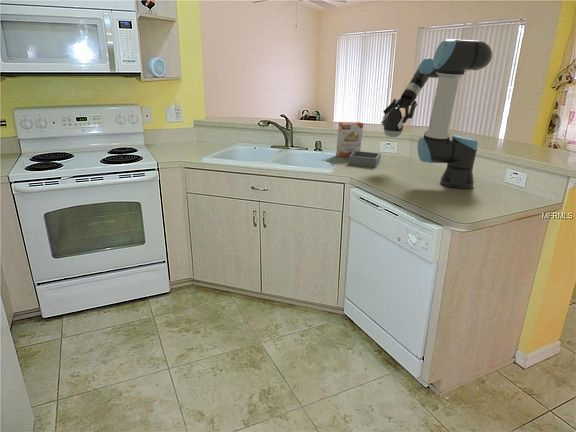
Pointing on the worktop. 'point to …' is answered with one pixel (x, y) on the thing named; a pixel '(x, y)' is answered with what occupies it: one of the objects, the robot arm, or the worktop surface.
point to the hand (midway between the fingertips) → (390, 125)
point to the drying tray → (364, 158)
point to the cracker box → (349, 138)
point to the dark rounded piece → (393, 123)
